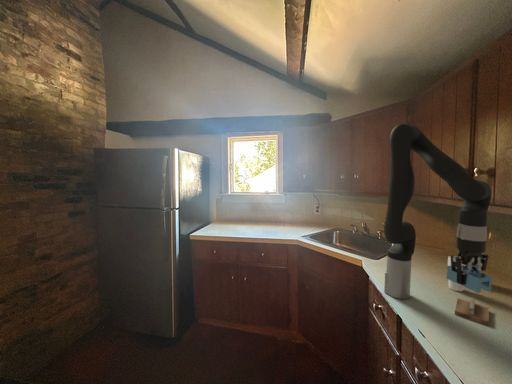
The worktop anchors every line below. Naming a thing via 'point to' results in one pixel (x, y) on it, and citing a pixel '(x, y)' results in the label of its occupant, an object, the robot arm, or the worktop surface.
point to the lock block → (472, 279)
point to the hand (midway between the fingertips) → (467, 282)
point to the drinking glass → (452, 284)
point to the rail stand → (472, 311)
